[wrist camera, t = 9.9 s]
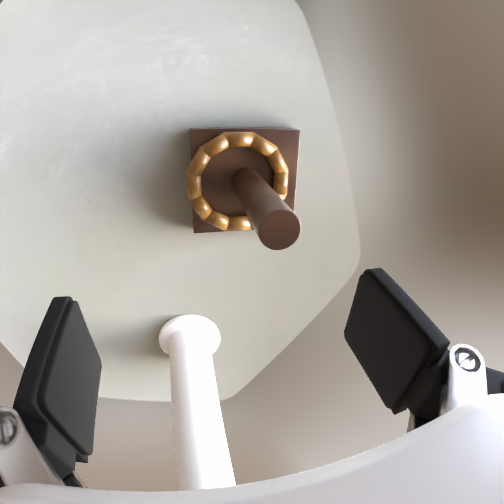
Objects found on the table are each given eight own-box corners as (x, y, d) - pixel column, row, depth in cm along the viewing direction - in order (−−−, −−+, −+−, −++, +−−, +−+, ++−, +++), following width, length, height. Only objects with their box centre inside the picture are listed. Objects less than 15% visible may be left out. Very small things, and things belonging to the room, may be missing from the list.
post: (190, 128, 23) (192, 148, 13) (295, 128, 24) (364, 152, 15) (193, 227, 27) (200, 305, 17) (288, 222, 29) (339, 289, 19)
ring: (184, 132, 22) (184, 134, 21) (288, 132, 23) (292, 133, 22) (188, 230, 26) (189, 235, 25) (282, 224, 27) (286, 229, 26)
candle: (158, 355, 34) (173, 562, 12) (159, 311, 31) (171, 561, 9) (215, 357, 36) (259, 555, 14) (223, 315, 33) (284, 550, 11)
